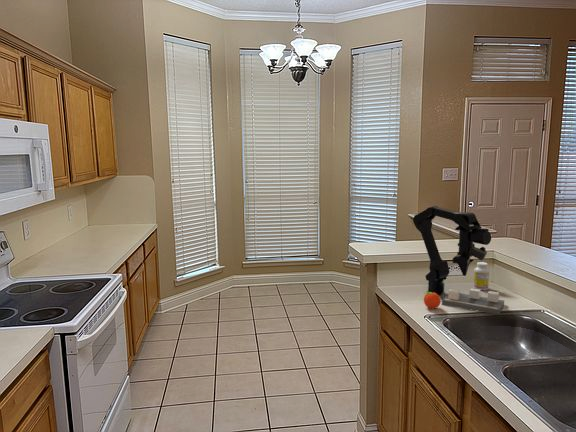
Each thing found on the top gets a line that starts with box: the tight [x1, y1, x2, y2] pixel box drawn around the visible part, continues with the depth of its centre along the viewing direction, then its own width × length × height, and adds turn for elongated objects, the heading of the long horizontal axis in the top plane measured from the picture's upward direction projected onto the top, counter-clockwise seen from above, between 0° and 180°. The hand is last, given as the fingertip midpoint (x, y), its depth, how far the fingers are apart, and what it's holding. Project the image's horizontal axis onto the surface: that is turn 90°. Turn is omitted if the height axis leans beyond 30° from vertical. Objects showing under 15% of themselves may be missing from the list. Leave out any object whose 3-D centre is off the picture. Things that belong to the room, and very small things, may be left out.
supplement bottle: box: [473, 261, 490, 291], centre depth 212 cm, size 7×7×13 cm
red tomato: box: [421, 291, 442, 310], centre depth 187 cm, size 8×7×7 cm
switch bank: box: [441, 292, 505, 316], centre depth 191 cm, size 23×14×2 cm, turn 56°
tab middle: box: [468, 287, 482, 299], centre depth 193 cm, size 4×3×4 cm
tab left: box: [448, 288, 461, 300], centre depth 192 cm, size 4×3×4 cm
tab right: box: [487, 290, 500, 302], centre depth 188 cm, size 4×3×4 cm
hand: (464, 275), depth 193 cm, fingers closed
